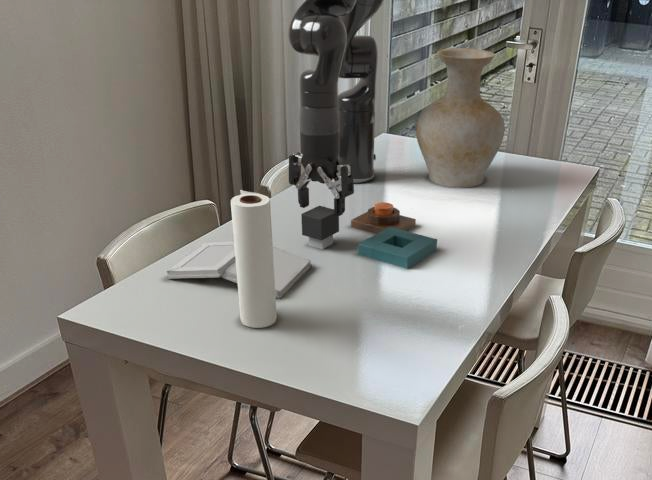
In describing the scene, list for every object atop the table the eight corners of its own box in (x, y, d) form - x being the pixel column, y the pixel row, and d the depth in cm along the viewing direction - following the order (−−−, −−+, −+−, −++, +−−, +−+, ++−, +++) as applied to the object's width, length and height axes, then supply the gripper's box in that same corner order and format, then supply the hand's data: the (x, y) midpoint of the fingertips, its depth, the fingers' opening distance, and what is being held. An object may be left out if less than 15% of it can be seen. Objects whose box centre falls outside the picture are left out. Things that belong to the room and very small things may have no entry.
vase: (418, 163, 207) (424, 43, 191) (499, 168, 205) (512, 47, 189) (409, 189, 189) (414, 59, 173) (498, 195, 187) (512, 64, 171)
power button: (370, 213, 166) (371, 206, 165) (380, 208, 169) (381, 201, 168) (386, 217, 164) (386, 210, 163) (396, 212, 167) (396, 204, 166)
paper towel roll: (270, 330, 128) (263, 206, 116) (235, 327, 129) (224, 203, 117) (282, 311, 134) (277, 191, 122) (249, 307, 135) (240, 188, 123)
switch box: (350, 227, 167) (350, 212, 165) (373, 215, 174) (374, 200, 172) (393, 239, 162) (394, 223, 160) (415, 226, 169) (416, 211, 167)
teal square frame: (358, 255, 155) (358, 243, 154) (389, 237, 163) (389, 226, 162) (407, 269, 150) (407, 257, 148) (436, 250, 158) (437, 239, 157)
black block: (302, 246, 158) (301, 213, 154) (319, 237, 162) (319, 205, 158) (321, 252, 156) (321, 219, 152) (339, 242, 160) (339, 210, 156)
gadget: (311, 266, 150) (311, 248, 148) (280, 299, 138) (279, 280, 136) (206, 249, 155) (204, 232, 153) (166, 279, 143) (164, 261, 141)
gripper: (361, 130, 146) (361, 213, 154) (302, 119, 152) (304, 198, 161) (338, 139, 140) (339, 224, 149) (277, 126, 146) (281, 209, 155)
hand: (321, 210), depth 155 cm, fingers open, 8 cm apart
